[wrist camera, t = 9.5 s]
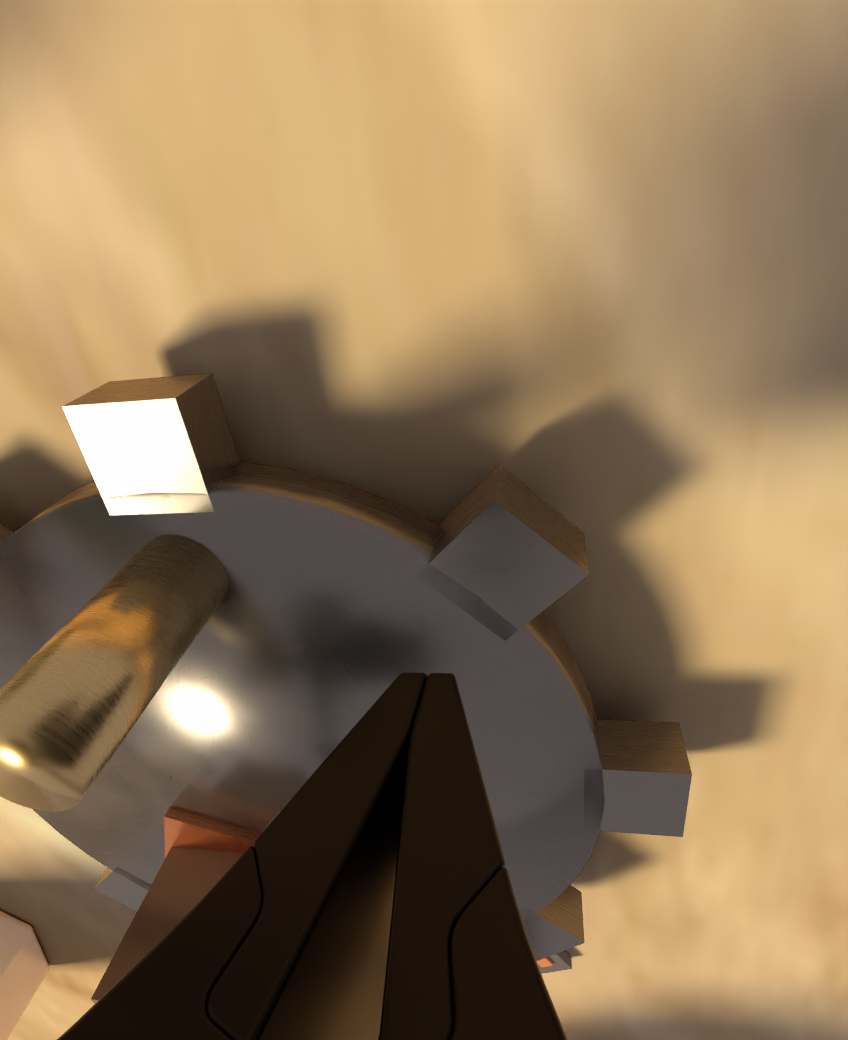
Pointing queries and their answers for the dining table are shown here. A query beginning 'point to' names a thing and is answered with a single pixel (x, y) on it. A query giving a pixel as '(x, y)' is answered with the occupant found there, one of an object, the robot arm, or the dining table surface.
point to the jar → (18, 970)
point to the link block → (166, 906)
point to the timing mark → (555, 962)
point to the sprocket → (294, 653)
